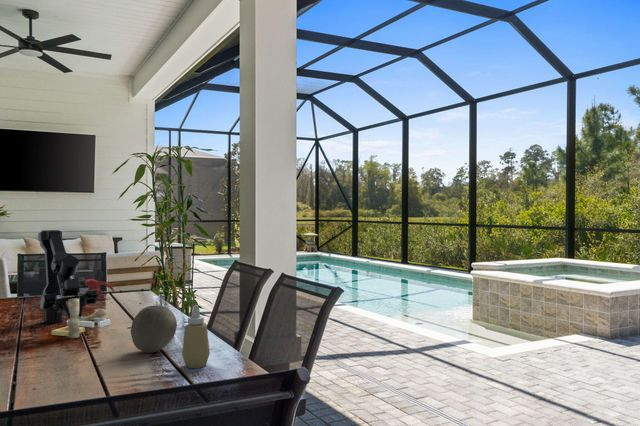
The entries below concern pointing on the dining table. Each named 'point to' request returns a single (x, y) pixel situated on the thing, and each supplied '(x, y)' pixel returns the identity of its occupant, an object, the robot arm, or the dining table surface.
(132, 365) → the dining table surface
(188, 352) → the squeeze bottle
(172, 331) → the grey egg-shaped stone
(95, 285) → the red toy dinosaur
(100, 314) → the figurine
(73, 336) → the post
